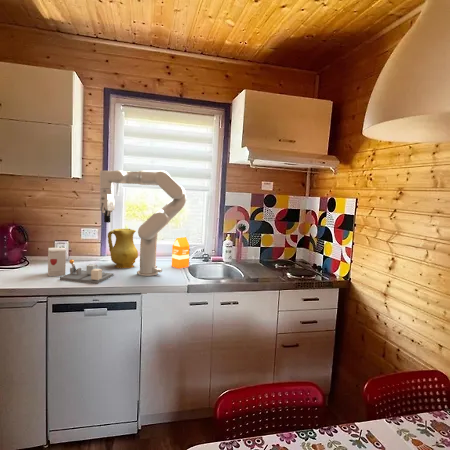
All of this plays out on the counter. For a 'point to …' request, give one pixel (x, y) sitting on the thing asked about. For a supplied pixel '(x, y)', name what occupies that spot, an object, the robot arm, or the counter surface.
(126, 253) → the pitcher
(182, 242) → the orange juice
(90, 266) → the white cube
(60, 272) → the supplement box
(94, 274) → the cream slider
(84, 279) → the panel
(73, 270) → the lever
